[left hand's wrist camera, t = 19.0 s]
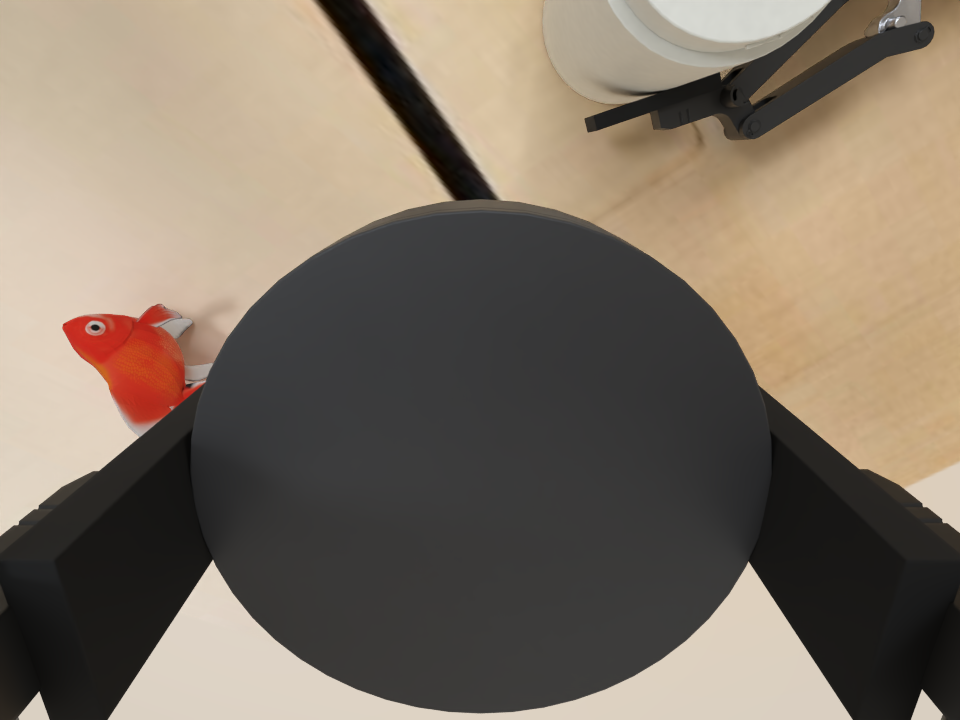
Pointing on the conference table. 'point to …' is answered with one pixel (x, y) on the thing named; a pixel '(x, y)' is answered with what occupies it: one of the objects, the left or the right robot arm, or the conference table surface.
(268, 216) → the conference table surface
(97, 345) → the fish
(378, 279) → the lid
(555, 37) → the jar
